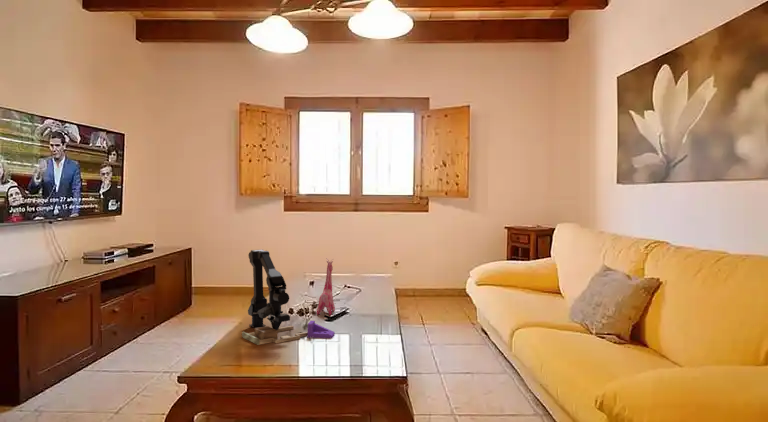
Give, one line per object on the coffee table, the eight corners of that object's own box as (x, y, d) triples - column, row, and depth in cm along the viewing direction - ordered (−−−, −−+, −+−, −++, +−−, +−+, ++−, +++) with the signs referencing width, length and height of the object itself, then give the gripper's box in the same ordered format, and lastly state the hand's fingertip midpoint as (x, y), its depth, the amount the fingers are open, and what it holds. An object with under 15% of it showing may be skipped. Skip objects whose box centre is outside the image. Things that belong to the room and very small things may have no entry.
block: (254, 337, 281) (254, 328, 280) (267, 335, 285) (267, 326, 285) (264, 342, 273) (264, 332, 273) (277, 339, 277) (277, 330, 277)
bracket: (307, 338, 281) (307, 324, 281) (310, 334, 288) (310, 320, 287) (331, 339, 280) (332, 324, 279) (334, 335, 287) (334, 321, 286)
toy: (337, 307, 347) (338, 257, 346) (329, 317, 322) (329, 263, 320) (323, 307, 348) (324, 257, 346) (314, 317, 322) (314, 263, 321)
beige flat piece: (241, 337, 280) (241, 331, 280) (292, 328, 297) (292, 323, 297) (260, 346, 265) (260, 340, 265) (311, 336, 282) (311, 331, 282)
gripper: (251, 299, 283) (251, 331, 284) (269, 306, 268) (269, 339, 269) (271, 296, 290) (271, 327, 291) (290, 303, 275) (290, 335, 276)
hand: (275, 332), depth 282 cm, fingers closed
